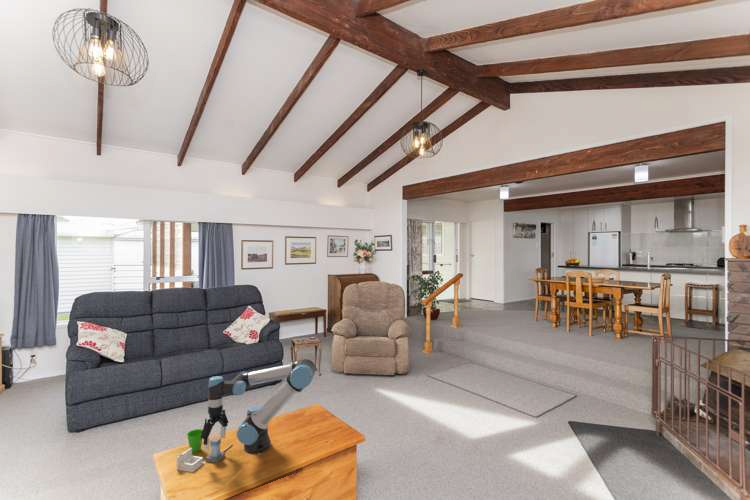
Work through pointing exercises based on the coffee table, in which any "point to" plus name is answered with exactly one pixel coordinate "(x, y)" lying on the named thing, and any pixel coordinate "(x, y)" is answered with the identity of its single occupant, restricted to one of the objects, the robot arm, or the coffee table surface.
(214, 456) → the plug
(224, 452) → the cord
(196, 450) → the cup
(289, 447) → the coffee table surface
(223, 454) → the grey square socket
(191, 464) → the tray
